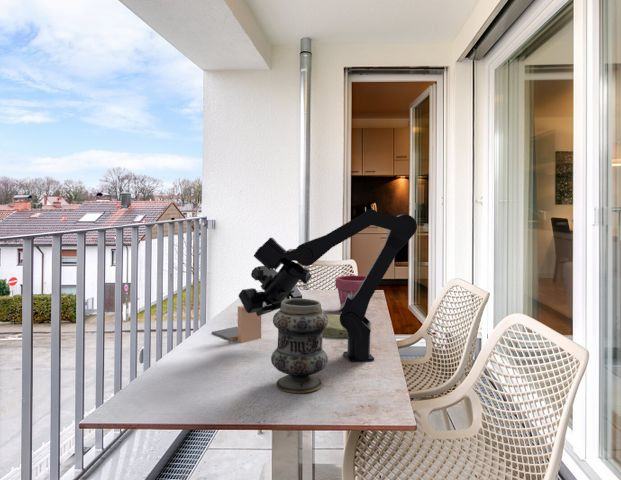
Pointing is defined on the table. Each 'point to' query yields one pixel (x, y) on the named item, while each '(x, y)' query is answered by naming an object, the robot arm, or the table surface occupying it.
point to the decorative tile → (334, 327)
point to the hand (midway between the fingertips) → (257, 314)
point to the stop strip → (234, 338)
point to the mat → (226, 332)
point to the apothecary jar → (299, 345)
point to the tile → (248, 325)
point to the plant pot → (348, 285)
